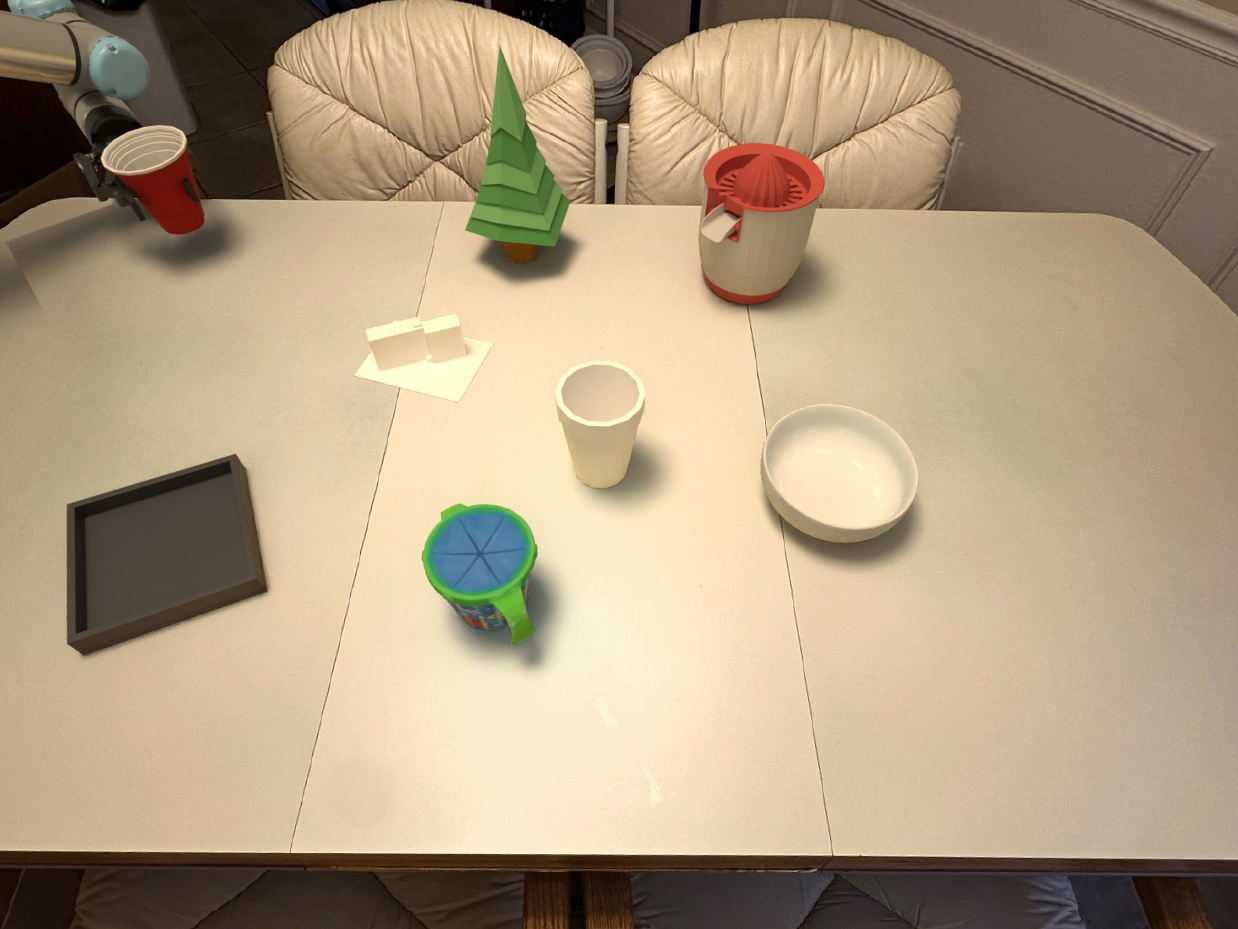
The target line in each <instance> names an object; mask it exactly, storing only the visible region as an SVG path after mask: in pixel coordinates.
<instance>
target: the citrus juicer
mask: <svg viewBox="0 0 1238 929" xmlns="http://www.w3.org/2000/svg"><path fill="white" fill-rule="evenodd" d="M702 176H703V180H704V182H703V191H702V200H701V209H700V217H699V226H698V239H697V240H698V241H697V242H698V251H699V252H698V253H699V257H700V265H701V270H702V273H703V276H704V279H705V281H706V283H707V286H708V287H709V288H710V290H711V291H712V292H714V293H715V294H716V295H718V296H719V297H721V298H723V299H724V300H727V301H730V302H734V303H738V304H744V305H753V304H754V305H755V304H760V303H761V304H763V303H765V302H768V301H771V300H772V299H774V298H776V297H777V296H778V295H779V294H781V292H782V291H783V290H784V289H785V288H786V287H787V285H788V284H789V283H790V281H791V280H792V278H793V275H794V274H795V273H796V271H797V269H798V267H799V265H800V263H801V261H802V259H803V257H804V254H805V251H806V247H807V244H808V241H809V238H810V233H811V230H812V226H813V223H814V218H815V215H816V211H817V207H818V202H819V199H820V196H821V195H822V194H823V191H824V188H825V177H824V174H823V172H822V169H821V168H820V167H819V166H818V164H817V163H816V162H815V161H814V160H812V159H811V158H810V157H808V156H806V155H805V154H803V153H801V152H799V151H796V150H794V149H792V148H790V147H789V148H788V147H785V146H782V145H777V144H773V143H764V142H763V143H762V142H747V143H740V144H735V145H732V146H727V147H725V148H723V149H721V150H718V151H716V152H715V153H714V154H713V155H711V156H710V157H709V159H708V160H707V161H706V163H705V165H704V167H703V172H702Z"/></svg>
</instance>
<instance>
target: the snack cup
mask: <svg viewBox="0 0 1238 929" xmlns="http://www.w3.org/2000/svg"><path fill="white" fill-rule="evenodd" d="M440 517H441V519H440V521H439V522H437V524H436V525H435V526H434V527H433V528H432V530H430V533H429V534H428V536H427V538H426V540H425V543H424V546H423V550H422V551H421V561H422V565H423V569H424V572H425V576H426V578H427V581H428V582H429V584H430V586H431V587H432V588H433V590H434V591H435V592H436V593H437V594H439V595H440V596H441V597H442V598H443V599H444V600H446V601H447V602H448V604H449V605H450V606H451V608H452V609H453V610H454V611H455V613H456V615H458V616H459V617H460V618H461V620H462V621H463V622H464V623H466V624H468V625H469V626H470V627H472V628H475V629H477V630H478V629H479V630H497V629H498V630H499V629H501V628H502V629H503V628H504V627H509V629H510V630H509V631H510V632H511V637H510V641H509V642H510V645H512V646H516V645H518V644H521V643H522V642H524V641H525V640H527V639H529V638H530V637H531V636H533V635H534V634H535V633H536V632H537V628H536V626H534V624H533V623H532V622H531V619H530V617H529V614H528V610H527V607H526V606H527V603H528V600H529V595H530V589H531V578H532V572H533V570H534V567H535V563H536V560H537V558H538V551H539V550H538V549H539V548H538V544H537V543H536V540H535V536H534V534H533V531H532V529H531V526H530V525H529V524H528V522H527V521H526V520H525V519H524V518H523V517H522V516H521V515H519V513H517V512H515V511H514V510H512V509H510V508H508V507H505V506H501V505H497V504H491V503H490V504H489V503H484V504H483V503H482V504H481V503H480V504H479V503H478V504H472V505H465V504H463V503H457V504H454V505H452V506H449V507H447V508H445V509H444V510H442V511H441V512H440Z"/></svg>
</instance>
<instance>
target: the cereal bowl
mask: <svg viewBox="0 0 1238 929" xmlns="http://www.w3.org/2000/svg"><path fill="white" fill-rule="evenodd" d="M760 455H761V456H760V457H761V458H760V466H759V467H760V476H761V477H760V478H761V479H760V480H761V483H762V487H763V489H764V493H765V495H766V497H767V499H768V500H769V502H770V504H771V505H772V507H773V508H774V510H775V511H776V512H777V513H778V514H779V515H780V517H782V518H783V519H784V520H785V521H786V522H787V523H788V524H790V525H791V526H792V527H794V528H796V529H797V530H799V531H801V533H804V534H806V535H808V536H811V537H812V538H816V539H819V540H821V541H826V542H832V543H844V544H845V543H847V544H849V543H858V542H864V541H868V540H871V539H873V538H877V537H879V536H880V535H882V534H884V533H886V532H887V531H889V530H891V529H892V528H893V527H894V526H896V524H898V523H899V522H901V520H902V519H903V518H904V517H905V515H906V514H907V513H908V512H909V509H910V508H911V506H912V505H913V503H914V501H915V498H916V496H917V493H918V488H919V480H920V479H919V478H920V477H919V469H918V464H917V460H916V458H915V456H914V454H913V452H912V450H911V449H910V447H909V445H908V444H907V442H906V441H905V440H904V438H903V437H902V436H901V435H900V434H899V433H898V432H897V431H896V430H895V429H894V428H893V427H891V426H890V425H889V424H888V423H886V422H885V421H884V420H882V419H881V418H879V417H877V416H875V415H873V414H871V413H869V412H867V411H864V410H862V409H859V408H857V407H856V408H855V407H852V406H849V405H843V404H837V403H818V404H811V405H807V406H803V407H799V408H797V409H795V410H792V411H790V412H788V413H787V414H785V415H784V416H782V417H780V419H778V420H777V421H776V422H775V423H774V424H773V426H772V427H771V428H770V430H769V432H768V433H767V435H766V437H765V440H764V442H763V447H762V450H761V454H760Z"/></svg>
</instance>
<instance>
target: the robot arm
mask: <svg viewBox="0 0 1238 929" xmlns="http://www.w3.org/2000/svg"><path fill="white" fill-rule="evenodd" d="M7 5H8V7H9V9H10V11H6V10H0V77H4V78H12V79H17V80H25V81H32V82H38V83H39V82H40V83H47V84H52V86H53V87H54V89H55V90H56V92H57V94H58V98H59V100H60V101H61V103H62V105H63V107H64V109H65V111H66V112H67V113H69V114H70V116H71V117H72V118H73V120H74V121H75V122H76V124H77V126H78V127H79V129H80V130H81V132H82V133H83V135H84V136H85V138H86V139H87V141H88V142H89V144H90V146H92V148H91V153H86V154H84V153H82V152H76V153H74V154H73V155H72V157H73V159H74V161H75V163H76V164H77V166H78V167H79V169H80V170H81V172H82V173H83V174H84V175H85V177H86V180H87V182H88V184H89V186H90V188H91V190H92V191H93V193H94V194H95V196H96V198H97V199H98V201H99V202H101V203H105V202H107V201H108V200H109V198H113V199H114V200H115V202H116V204H118V206H119V208H126V207H129V206H130V208H131V210H132V211H133V213H134V214H135V216H136V217H137V219H138V220H139V221H140V222H143V221H146V220H147V218H146V216H145V214H144V212H143V211H142V209H141V207H140V206H139V203H138V202H137V200H136V199H135V198H134V196H133V194H132V192H130V189H129V188H128V186H127V185H126V184H125V183H124V182H123V181H122V180H121V179H120V178H119V177H118V176H117V175H116V174H115V173H113V172H111V171H110V170H108V169H106V168H105V169H106V170H105V179H104V182H103V181H102V179H101V177H100V175H99V173H98V171H99V168H98V166H99V163H100V164H103V163H102V160H101V157H102V154H103V152H104V149H105V148H106V147H107V146H108V145H109V144H110V143H111V142H112V141H113V140H115V139H117V138H118V137H120V136H122V135H124V134H126V133H127V132H130V131H133V130H136V129H139V128H143V127H145V126H144V125H143V124H142V123H141V121H140V119H138V118H137V116H136V115H135V114H134V112H133V111H132V110H131V109H130V107H129V106H128V104H126V102H125V101H133V100H135V99H138V98H140V97H141V96H143V94H145V92H146V91H147V90H148V88H149V85H150V83H151V82H150V81H151V70H150V66H149V63H148V61H147V60H146V57H144V54H143V53H142V52H140V50H139V49H138V48H136V47H135V46H134V45H132V44H131V43H129V42H128V41H127V40H126V39H124V38H123V37H121V36H118V35H116V34H113V33H111V32H109V31H107V30H105V29H103V28H102V27H99V26H97V25H96V24H94V23H92V22H91V21H88V20H86V19H84V18H83V17H81V16H79V14H78V12H77V8H76V6H75V4H73V2H72V1H71V0H7ZM187 151H188V156H189V159H190V164H191V167H192V171H193V172H199V171H200V170H201V169H202V168H201V165H200V164H199V162H198V160H197V157H196V155H195V153H194V151H193V150H191V149H190V147H189V146H187ZM173 156H174V155H173ZM173 156H171V157H173ZM183 183H184V185H185V187H186V190H187V192H188V194H189V196H190V198H191V199H192V200H193V202H194V203H195V202H198V201H201V199H200V200H199V198H198V196H197V194H196V192H195V190H194V188H193V186H192V184H191V182H190V181H189V180H188V178H186V179H184V180H183ZM195 183H196V184H197V179H195Z"/></svg>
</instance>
